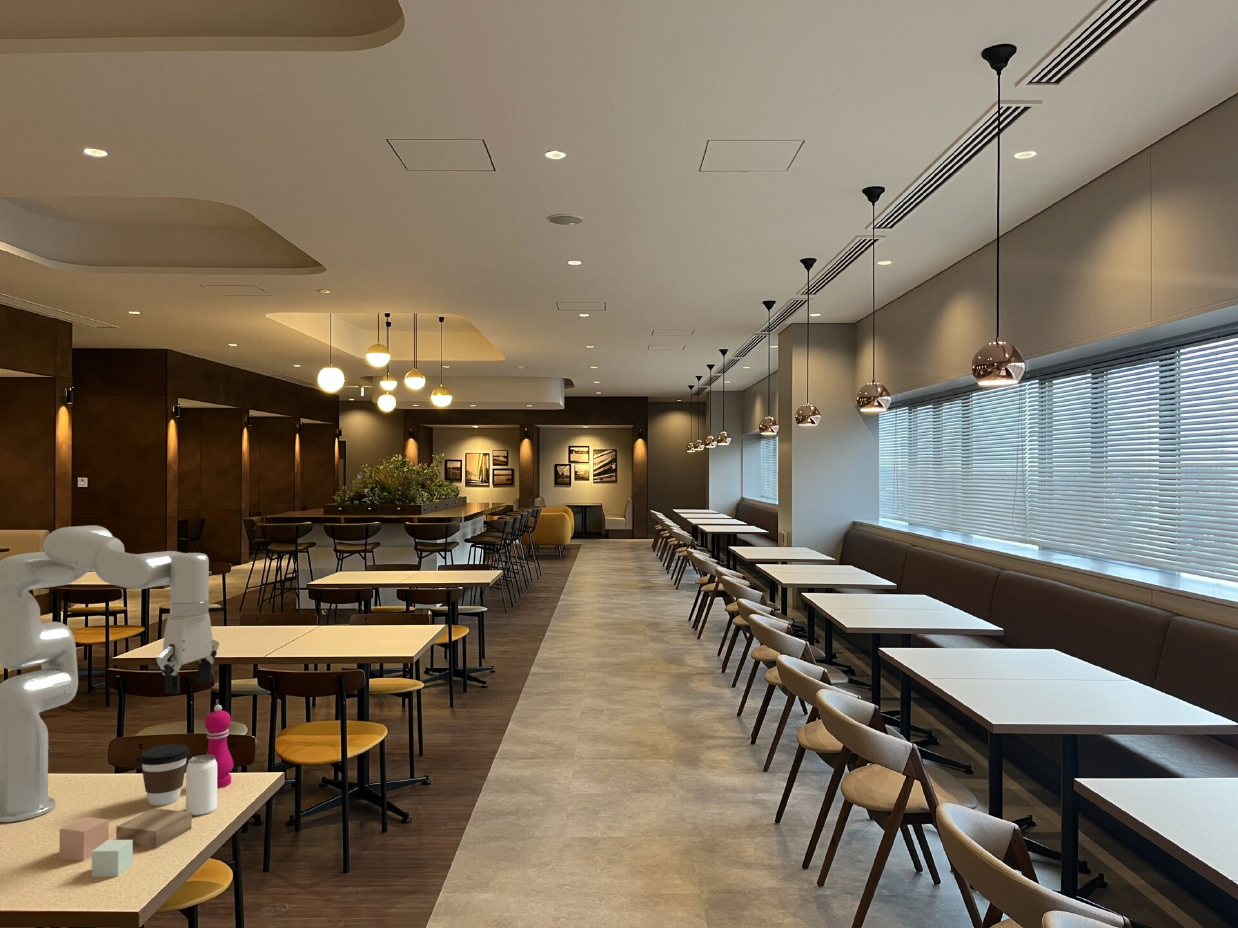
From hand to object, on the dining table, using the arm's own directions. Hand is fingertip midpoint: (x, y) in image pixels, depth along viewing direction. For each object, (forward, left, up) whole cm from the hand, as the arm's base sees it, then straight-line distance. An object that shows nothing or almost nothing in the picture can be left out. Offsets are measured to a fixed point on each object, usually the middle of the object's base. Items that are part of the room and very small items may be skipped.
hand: (188, 687), depth 181 cm
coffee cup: (-18, +13, -31) cm, 38 cm away
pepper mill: (-13, +25, -31) cm, 42 cm away
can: (-5, +10, -31) cm, 33 cm away
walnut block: (-5, -4, -32) cm, 32 cm away
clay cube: (-13, -14, -31) cm, 37 cm away
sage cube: (-1, -19, -31) cm, 37 cm away
